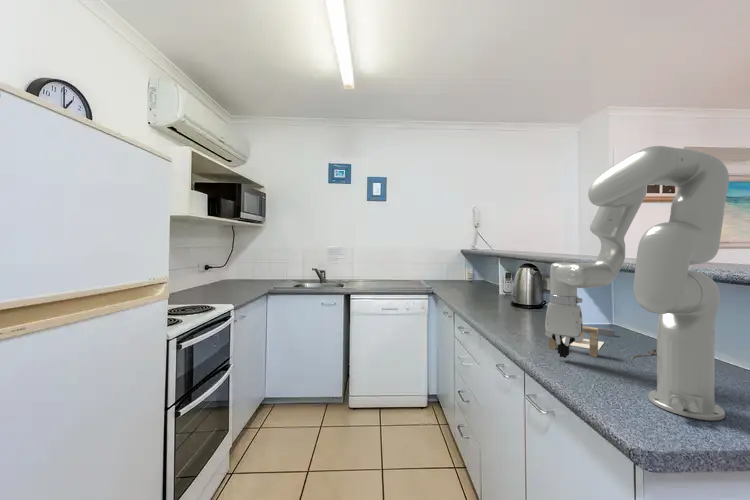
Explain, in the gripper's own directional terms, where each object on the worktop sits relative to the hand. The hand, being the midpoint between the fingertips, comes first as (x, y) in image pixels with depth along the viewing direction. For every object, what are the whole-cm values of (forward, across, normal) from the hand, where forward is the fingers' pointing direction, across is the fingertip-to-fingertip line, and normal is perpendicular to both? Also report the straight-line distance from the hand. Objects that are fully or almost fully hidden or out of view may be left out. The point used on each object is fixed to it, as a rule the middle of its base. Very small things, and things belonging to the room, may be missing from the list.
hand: (563, 356), depth 104 cm
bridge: (+2, 0, -13) cm, 13 cm away
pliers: (+2, -20, -25) cm, 32 cm away
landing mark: (+2, 0, -27) cm, 27 cm away
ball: (-1, +2, -28) cm, 28 cm away
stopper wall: (+2, 0, -47) cm, 47 cm away
